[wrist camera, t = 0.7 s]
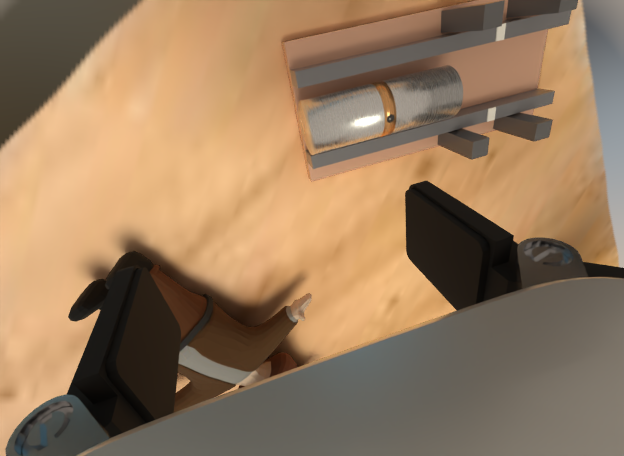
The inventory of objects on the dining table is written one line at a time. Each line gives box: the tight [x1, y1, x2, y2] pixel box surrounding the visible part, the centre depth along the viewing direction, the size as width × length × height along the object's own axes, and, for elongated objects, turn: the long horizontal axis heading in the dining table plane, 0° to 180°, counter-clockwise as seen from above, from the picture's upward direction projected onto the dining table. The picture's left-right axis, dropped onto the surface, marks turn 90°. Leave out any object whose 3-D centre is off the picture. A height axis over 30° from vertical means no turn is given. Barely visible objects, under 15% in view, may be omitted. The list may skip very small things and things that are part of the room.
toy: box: [68, 251, 311, 413], centre depth 37 cm, size 24×10×30 cm
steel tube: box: [298, 65, 463, 155], centre depth 28 cm, size 13×4×5 cm, turn 100°
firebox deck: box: [282, 0, 578, 182], centre depth 28 cm, size 12×25×6 cm, turn 100°
